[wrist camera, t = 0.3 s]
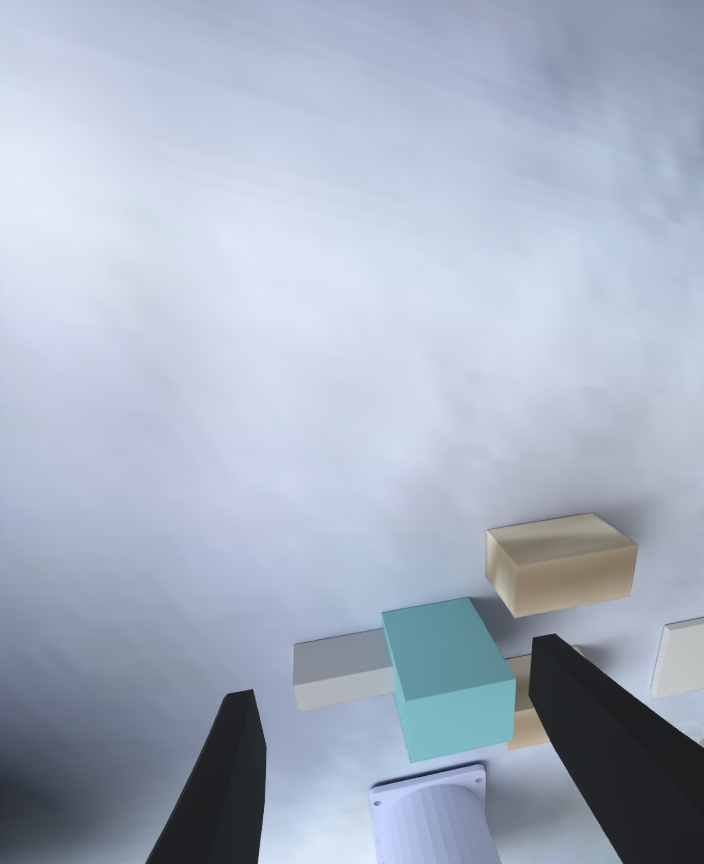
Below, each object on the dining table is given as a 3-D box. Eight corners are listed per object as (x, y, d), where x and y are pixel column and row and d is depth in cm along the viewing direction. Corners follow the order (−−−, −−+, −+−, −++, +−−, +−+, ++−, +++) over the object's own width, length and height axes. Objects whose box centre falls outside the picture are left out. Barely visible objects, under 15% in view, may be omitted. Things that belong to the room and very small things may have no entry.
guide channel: (572, 680, 25) (607, 729, 22) (483, 698, 24) (508, 751, 21) (592, 512, 21) (638, 545, 18) (486, 530, 20) (517, 566, 17)
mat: (728, 676, 27) (734, 681, 26) (649, 693, 26) (655, 698, 26) (748, 608, 25) (755, 613, 24) (664, 625, 24) (670, 630, 24)
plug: (468, 650, 23) (512, 740, 18) (301, 683, 22) (301, 787, 17) (468, 597, 21) (516, 678, 17) (291, 629, 20) (288, 725, 16)
